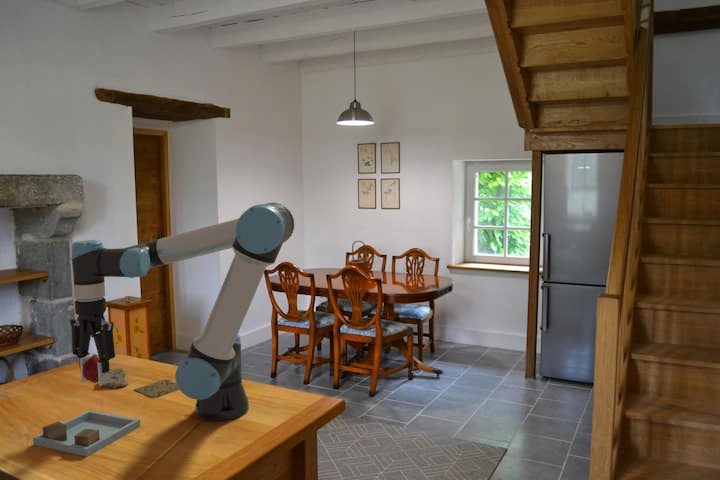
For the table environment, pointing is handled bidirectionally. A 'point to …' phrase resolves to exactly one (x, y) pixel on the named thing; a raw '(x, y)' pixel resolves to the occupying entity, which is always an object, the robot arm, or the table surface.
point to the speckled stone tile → (158, 388)
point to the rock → (117, 378)
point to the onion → (91, 369)
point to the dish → (105, 423)
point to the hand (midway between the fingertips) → (95, 382)
